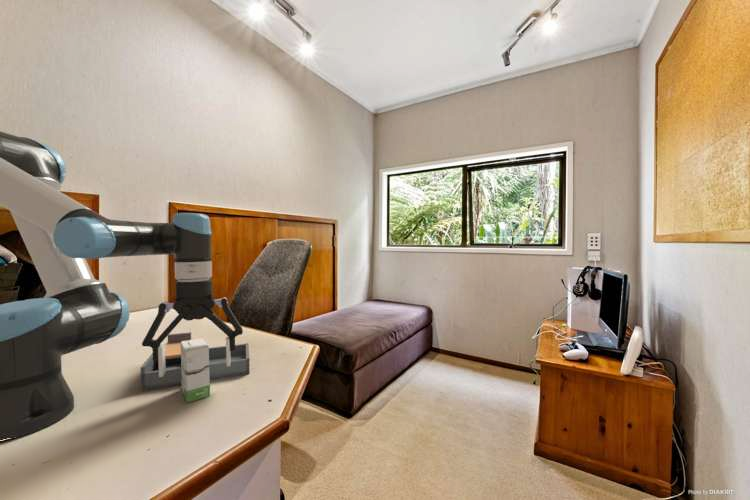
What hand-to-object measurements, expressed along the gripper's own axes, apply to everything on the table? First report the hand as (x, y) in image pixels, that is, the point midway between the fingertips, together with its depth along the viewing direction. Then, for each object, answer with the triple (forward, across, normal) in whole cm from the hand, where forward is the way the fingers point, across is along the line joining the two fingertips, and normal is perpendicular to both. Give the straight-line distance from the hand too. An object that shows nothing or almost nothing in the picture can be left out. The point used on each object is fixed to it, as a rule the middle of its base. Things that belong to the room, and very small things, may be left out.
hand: (196, 369), depth 72 cm
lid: (+1, -8, +21) cm, 23 cm away
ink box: (+6, 0, 0) cm, 6 cm away
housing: (+5, 0, +13) cm, 14 cm away
